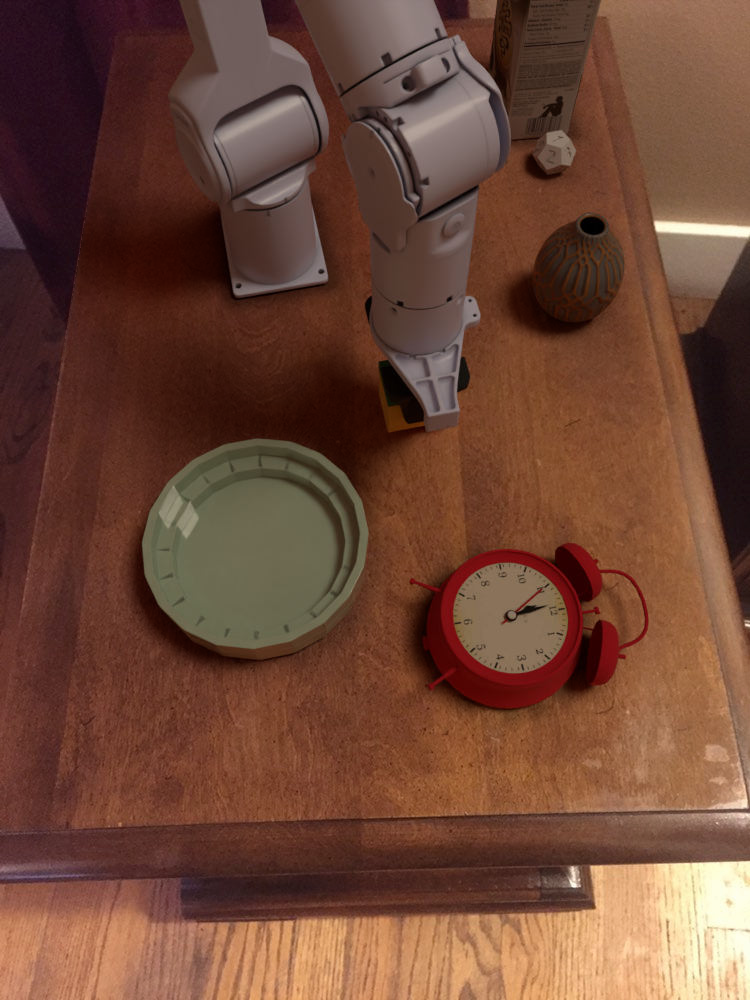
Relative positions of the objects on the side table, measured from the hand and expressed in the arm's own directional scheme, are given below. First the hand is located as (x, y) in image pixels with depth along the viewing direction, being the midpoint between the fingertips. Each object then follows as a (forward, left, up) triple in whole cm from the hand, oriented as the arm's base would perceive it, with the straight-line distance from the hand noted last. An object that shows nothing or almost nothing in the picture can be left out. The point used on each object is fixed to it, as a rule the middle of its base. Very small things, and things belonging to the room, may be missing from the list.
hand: (413, 395), depth 60 cm
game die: (-23, +18, -3) cm, 29 cm away
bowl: (+9, -13, -3) cm, 16 cm away
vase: (-8, +15, -3) cm, 17 cm away
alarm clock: (+18, +4, -3) cm, 19 cm away
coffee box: (-31, +18, -3) cm, 36 cm away
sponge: (0, 0, -2) cm, 2 cm away
